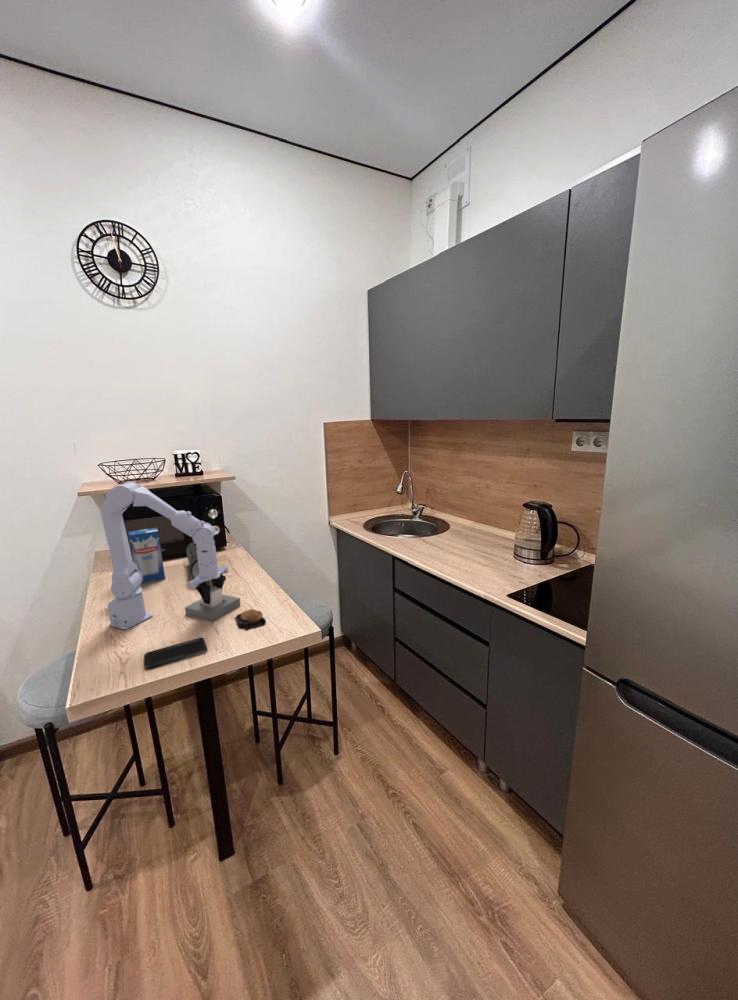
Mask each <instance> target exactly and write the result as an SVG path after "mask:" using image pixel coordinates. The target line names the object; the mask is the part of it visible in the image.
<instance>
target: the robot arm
mask: <svg viewBox="0 0 738 1000" xmlns="http://www.w3.org/2000/svg"><path fill="white" fill-rule="evenodd" d="M131 505H132V507H147V508H149V509H151V510H153V511H155V512H156V513H158V514H159V515H162V516H163V517H165V518H167V519H169V520H170V522H171V526H172V527H174V528H175V529H177V530H179V531H180V532H182V533H184V534H185V535H186V536H189V537H190V538H191V537H192V538H191V539H192V542H194V543H195V544H196V545H195V546H196V547H197V549H196V552H197V558H198V566H199V574H200V575H199V576H197V577H196V578H193V579H192V580H190V581H188V585H189V586H188V587H189V589H195V590H197V592H198V594H199V595H200V598H201V597H202V599H203V601H204V603H205V604H210V588H211V586H216V588H221V593H222V590H223V588H224V587H223V586H224V584H225V581H226V580H227V578H226V577H227V576H226V575H224V574H227V573H229V567H228V566H224V565H223V566H221V567H219V566H218V565H219V564H218V557H217V548H216V545H215V544H216V541H215V539H214V537H215V534H216V529H215V528H214V526H213V525H212V524H211V523H210V522H206V521H204V520H200V519H198V518H196V517H195V516H194V515H192V512H191V511H189V510H187V511H185V510H176V509H175V508H174V507H172V506H171V505H170V504H168V503H167V502H166V501H164V500H163V499H161V497H158V496H157V495H156V494H154V493H152V492H151V491H150V490H149V489H148V488H147V487H145V486H143V485H142V486H141V484H139V483H138V482H136V481H133V480H132V481H131V480H130V481H126V482H124V483H122V484H120V485H116V486H114V487H112V488H111V489H110V490H109V491H108V492H107V493H106V494H105V500H104V501H103V505H102V507H101V509H100V516H101V521H102V524H103V528H104V533H105V537H106V542H107V544H108V545H107V546H108V550H109V554H110V556H111V557H110V559H111V562H112V566H113V570H112V574H111V586H110V591H111V594H112V595H113V596H114V598H113V599H112V600H111V601H109V602H108V604H107V612H108V616H109V617H108V618H109V624H108V625H109V626H110V627H114V628H118V629H120V630H126V631H127V630H128V629H130V628H132V627H134V626H136V625H138V624H139V623H142V622H143V621H146V620H148V619H150V618H152V617H153V614H151V613H147V611H146V604H145V599H144V592H143V588H142V587H141V585H142V584H141V583H142V581H143V575H142V573H141V572H140V571H139V570H138V568H137V565H136V564H135V563H134V561H133V555H132V550H131V546H130V541H129V539H128V538H129V537H128V535H127V530H126V526H125V520H124V518H123V517H124V516H123V513H124V512H125V511H126V510H127V509H128V508H129V507H130V506H131ZM209 581H210V583H211V584H208V582H209Z"/></svg>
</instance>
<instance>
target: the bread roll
mask: <svg viewBox="0 0 738 1000" xmlns="http://www.w3.org/2000/svg"><path fill="white" fill-rule="evenodd" d="M233 619H234V621H235V623H236V625H237V626H238V627H239V629H244V630H245V631H250V630H254V629H258V628H261V627H264V626H265V624H266V623H267V621H266V619H265V618H264V616H263V613H262V611H259V610H256V609H253V608H252V609H247V610H244V611H241V613H239V614H237V615H236V616H235V617H234V618H233Z"/></svg>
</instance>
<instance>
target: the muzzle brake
mask: <svg viewBox="0 0 738 1000" xmlns="http://www.w3.org/2000/svg"><path fill="white" fill-rule="evenodd" d="M196 549H197V547H196V544H195V543H194V541H191V542H190V543H189V544H188V546H187V547H186V551H185V552H186V557H187V560H188V561H187V562H188V565H189V567H188V569H189V573H190V575H191V577H192V578H193V579H195V578H196V577H197V576H199V575H200V574H199V566H198V558H197V551H196Z"/></svg>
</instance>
